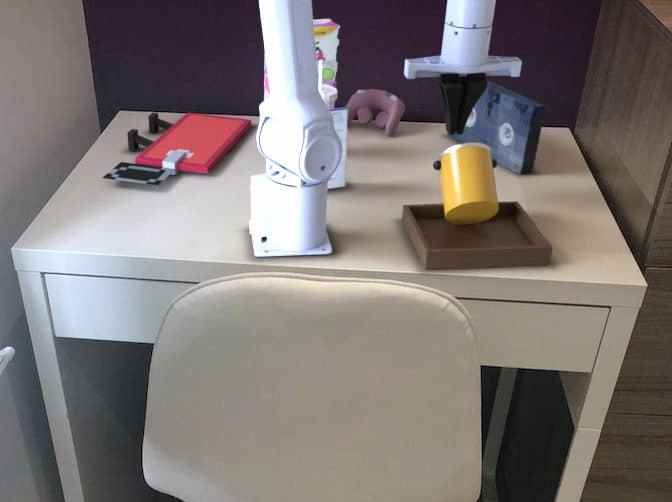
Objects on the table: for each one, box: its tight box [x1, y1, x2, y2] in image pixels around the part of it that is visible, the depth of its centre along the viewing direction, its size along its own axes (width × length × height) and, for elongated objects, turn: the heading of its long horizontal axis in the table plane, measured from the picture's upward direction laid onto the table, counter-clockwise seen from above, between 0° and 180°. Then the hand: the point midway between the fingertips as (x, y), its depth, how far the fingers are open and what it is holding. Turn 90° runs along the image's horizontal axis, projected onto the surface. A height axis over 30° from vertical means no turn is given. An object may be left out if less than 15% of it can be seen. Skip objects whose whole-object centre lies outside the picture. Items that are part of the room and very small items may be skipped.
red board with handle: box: [102, 112, 252, 187], centre depth 128 cm, size 30×3×15 cm
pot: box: [432, 142, 499, 225], centre depth 105 cm, size 8×10×10 cm
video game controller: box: [345, 88, 406, 137], centre depth 138 cm, size 10×5×7 cm, turn 58°
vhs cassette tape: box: [447, 80, 546, 175], centre depth 127 cm, size 18×3×10 cm, turn 25°
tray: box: [401, 200, 554, 270], centre depth 104 cm, size 15×13×2 cm
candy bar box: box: [263, 18, 341, 109], centre depth 134 cm, size 11×5×16 cm, turn 107°
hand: (454, 132), depth 110 cm, fingers closed
